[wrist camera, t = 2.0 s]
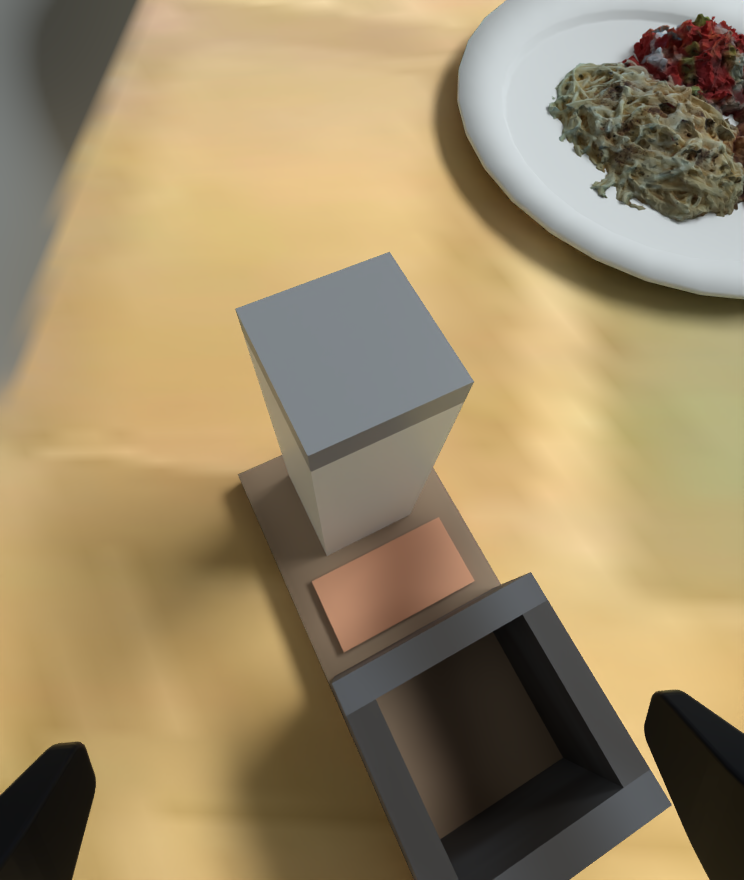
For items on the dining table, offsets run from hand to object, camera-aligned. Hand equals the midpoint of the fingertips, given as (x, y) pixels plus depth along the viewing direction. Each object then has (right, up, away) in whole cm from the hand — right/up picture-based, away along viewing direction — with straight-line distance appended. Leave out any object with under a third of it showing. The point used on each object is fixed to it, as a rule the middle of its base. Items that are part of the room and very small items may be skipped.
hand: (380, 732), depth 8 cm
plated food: (+20, +25, +27) cm, 42 cm away
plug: (-1, +2, +14) cm, 15 cm away
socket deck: (+1, -3, +14) cm, 14 cm away
